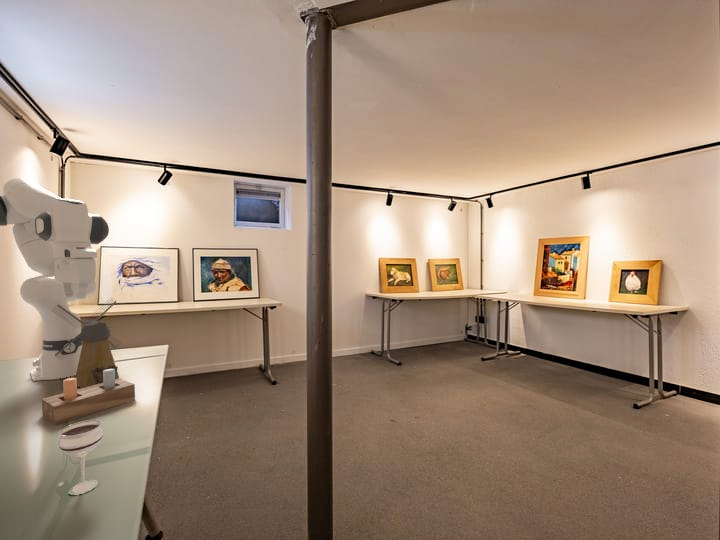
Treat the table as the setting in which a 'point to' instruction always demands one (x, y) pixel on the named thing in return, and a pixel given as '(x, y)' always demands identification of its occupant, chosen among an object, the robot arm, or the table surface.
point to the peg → (70, 388)
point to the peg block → (87, 401)
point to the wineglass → (81, 445)
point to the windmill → (91, 347)
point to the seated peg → (109, 378)
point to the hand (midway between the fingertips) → (74, 297)
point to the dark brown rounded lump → (101, 374)
